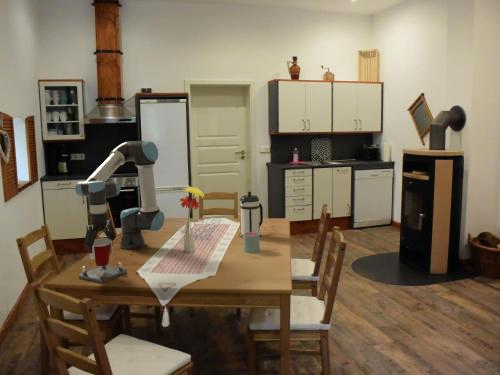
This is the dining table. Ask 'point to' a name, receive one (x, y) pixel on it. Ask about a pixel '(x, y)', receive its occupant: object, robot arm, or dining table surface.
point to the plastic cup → (102, 251)
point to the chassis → (102, 273)
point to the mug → (251, 242)
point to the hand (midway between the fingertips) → (101, 255)
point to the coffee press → (250, 214)
